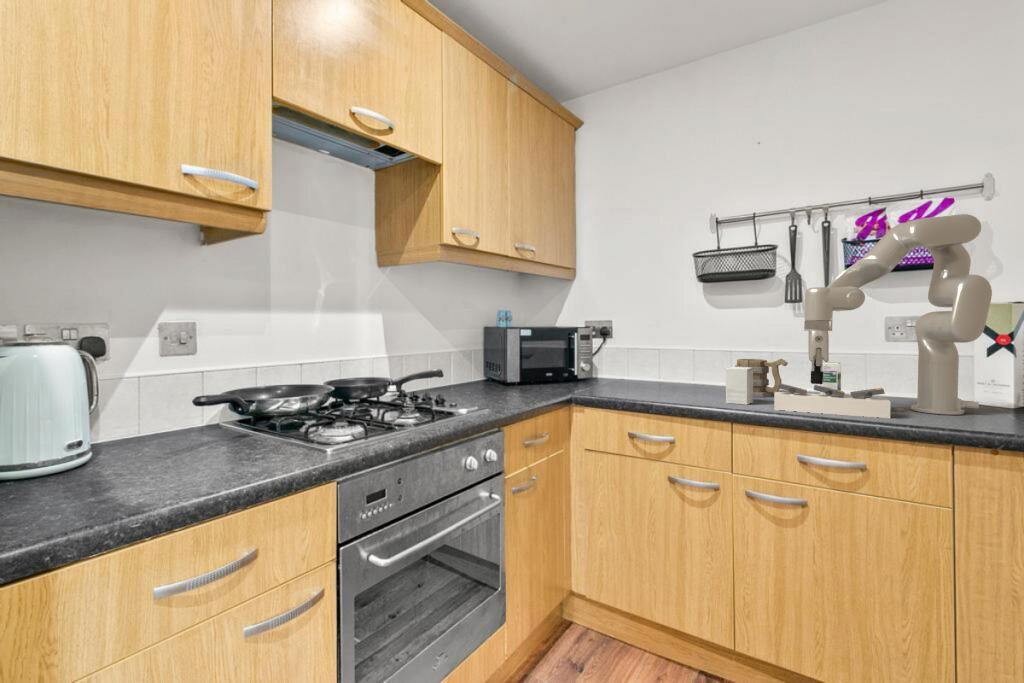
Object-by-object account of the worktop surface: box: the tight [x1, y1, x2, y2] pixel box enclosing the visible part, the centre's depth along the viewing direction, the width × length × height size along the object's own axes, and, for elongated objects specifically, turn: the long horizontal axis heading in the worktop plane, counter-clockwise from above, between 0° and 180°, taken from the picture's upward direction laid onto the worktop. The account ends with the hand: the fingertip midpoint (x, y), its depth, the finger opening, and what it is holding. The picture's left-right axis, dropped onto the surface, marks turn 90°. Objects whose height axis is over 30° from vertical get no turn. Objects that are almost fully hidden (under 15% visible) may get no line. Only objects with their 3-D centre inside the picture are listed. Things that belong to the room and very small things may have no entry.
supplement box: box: [725, 366, 754, 406], centre depth 170 cm, size 7×7×13 cm
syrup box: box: [819, 361, 842, 395], centre depth 168 cm, size 6×6×14 cm
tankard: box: [734, 358, 788, 398], centre depth 186 cm, size 20×13×15 cm, turn 30°
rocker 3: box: [850, 387, 886, 398], centre depth 147 cm, size 8×4×2 cm, turn 61°
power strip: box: [773, 391, 906, 419], centre depth 151 cm, size 34×8×5 cm, turn 61°
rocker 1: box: [778, 382, 808, 395], centre depth 157 cm, size 8×4×2 cm, turn 61°
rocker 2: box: [813, 384, 846, 397], centre depth 152 cm, size 8×4×2 cm, turn 61°
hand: (816, 383), depth 153 cm, fingers closed
